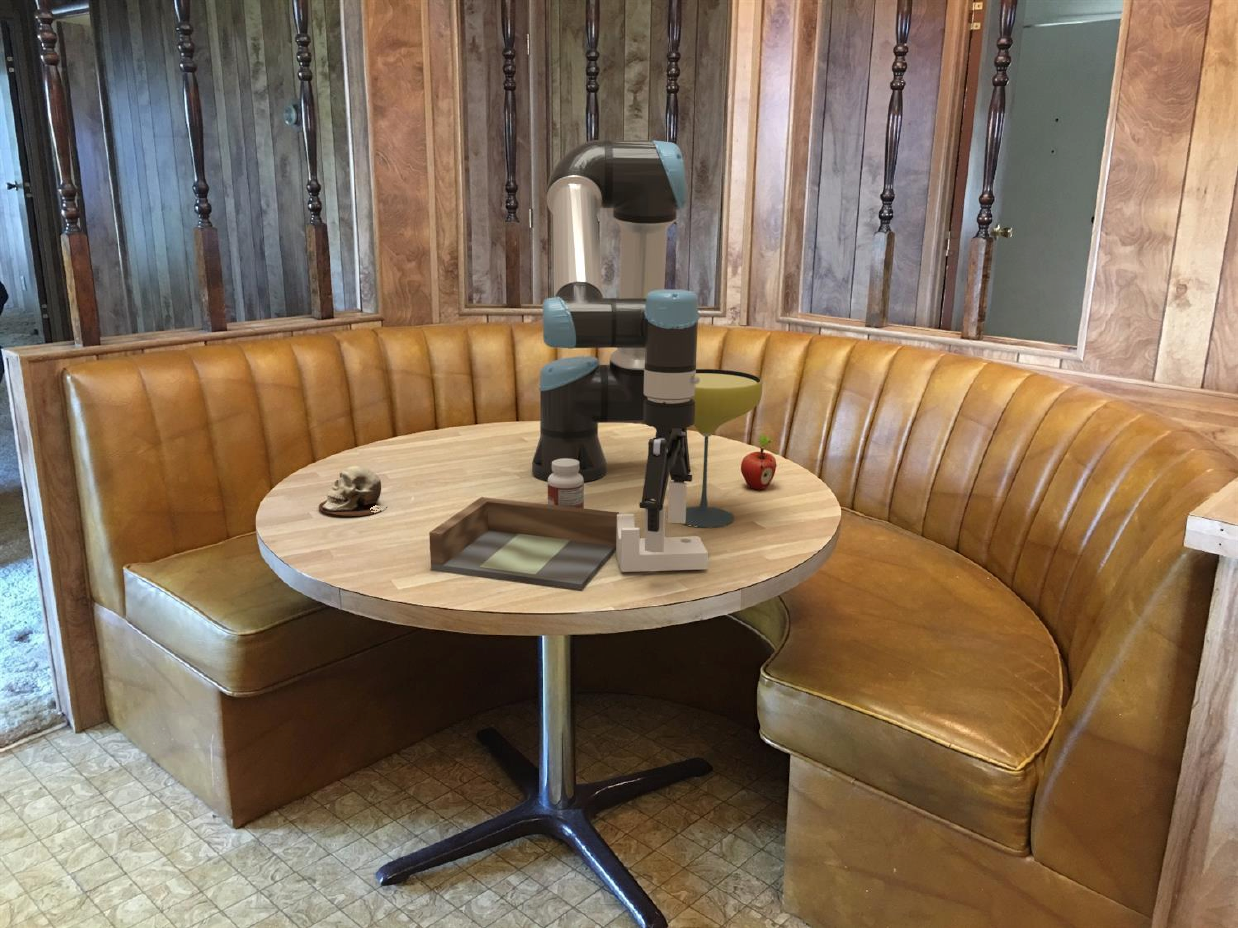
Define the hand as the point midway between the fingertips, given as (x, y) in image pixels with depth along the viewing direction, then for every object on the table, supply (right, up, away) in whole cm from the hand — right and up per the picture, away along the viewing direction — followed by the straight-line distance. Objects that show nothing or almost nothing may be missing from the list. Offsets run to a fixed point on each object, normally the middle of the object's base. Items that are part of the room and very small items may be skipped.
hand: (666, 536), depth 141 cm
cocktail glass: (+8, +1, +23) cm, 25 cm away
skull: (-55, +3, +27) cm, 61 cm away
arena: (-21, -4, +4) cm, 22 cm away
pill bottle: (-16, 0, +20) cm, 26 cm away
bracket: (-1, -5, +2) cm, 6 cm away
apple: (+20, +6, +41) cm, 46 cm away
